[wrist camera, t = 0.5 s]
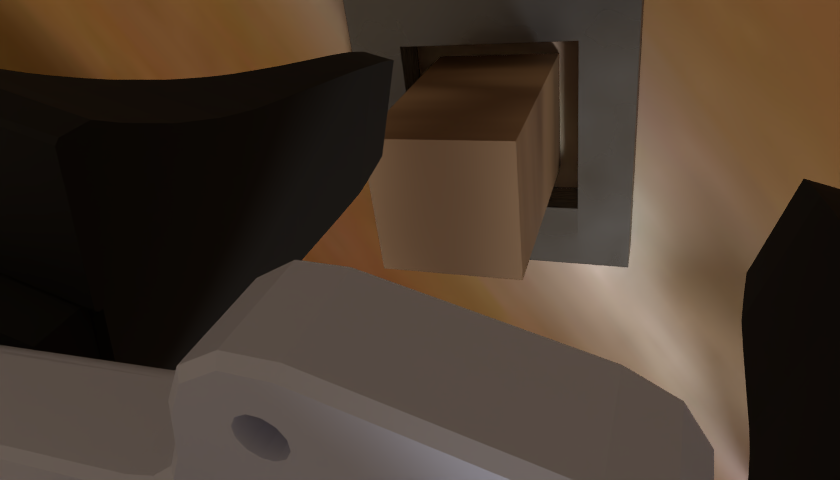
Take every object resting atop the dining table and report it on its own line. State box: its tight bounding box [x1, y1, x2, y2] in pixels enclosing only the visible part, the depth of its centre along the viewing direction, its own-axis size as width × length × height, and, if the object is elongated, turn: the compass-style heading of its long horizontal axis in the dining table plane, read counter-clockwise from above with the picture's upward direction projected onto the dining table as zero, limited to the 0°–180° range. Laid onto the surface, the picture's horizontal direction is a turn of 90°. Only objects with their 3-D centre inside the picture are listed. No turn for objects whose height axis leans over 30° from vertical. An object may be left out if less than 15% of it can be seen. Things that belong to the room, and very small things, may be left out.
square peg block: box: [368, 53, 560, 280], centre depth 20 cm, size 4×4×7 cm
